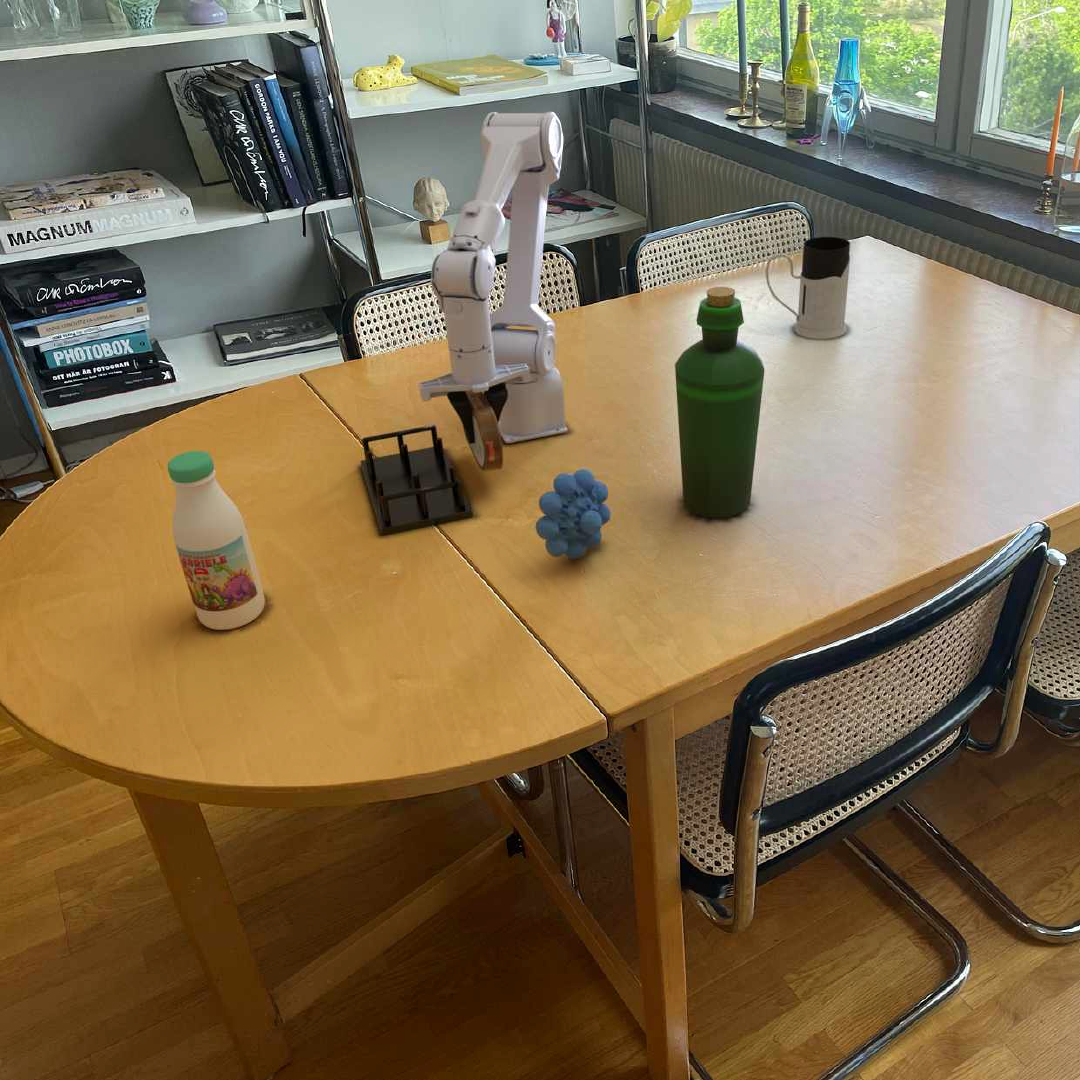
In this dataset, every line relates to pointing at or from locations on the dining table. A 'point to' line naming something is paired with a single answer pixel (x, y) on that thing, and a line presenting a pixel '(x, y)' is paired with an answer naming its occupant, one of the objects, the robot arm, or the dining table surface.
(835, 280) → the glass holder
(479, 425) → the tin
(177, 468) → the milk bottle
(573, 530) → the grapes
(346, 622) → the dining table surface
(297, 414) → the dining table surface
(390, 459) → the rack
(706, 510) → the bottle
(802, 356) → the dining table surface
